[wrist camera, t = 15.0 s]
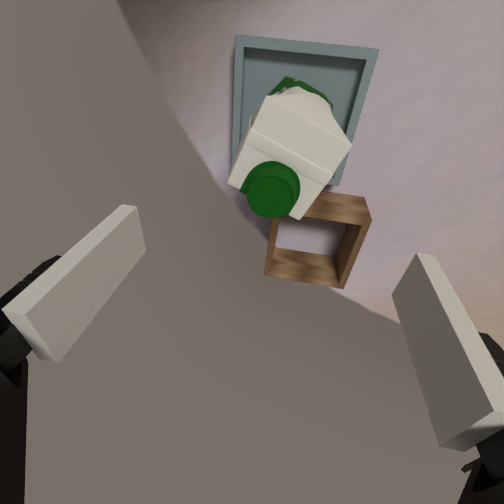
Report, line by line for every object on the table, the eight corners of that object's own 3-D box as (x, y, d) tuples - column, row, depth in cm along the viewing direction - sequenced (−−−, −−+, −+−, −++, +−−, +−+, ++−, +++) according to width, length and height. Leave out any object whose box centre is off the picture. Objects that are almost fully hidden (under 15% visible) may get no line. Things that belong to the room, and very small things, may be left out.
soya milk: (251, 132, 39) (211, 195, 23) (283, 62, 33) (258, 83, 17) (305, 162, 40) (301, 241, 24) (344, 99, 34) (371, 150, 19)
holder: (268, 250, 52) (263, 275, 47) (278, 184, 44) (273, 205, 38) (340, 262, 51) (343, 289, 46) (364, 197, 43) (371, 220, 37)
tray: (234, 164, 43) (231, 170, 41) (239, 35, 33) (235, 34, 31) (337, 179, 42) (338, 186, 40) (375, 48, 32) (379, 49, 30)
